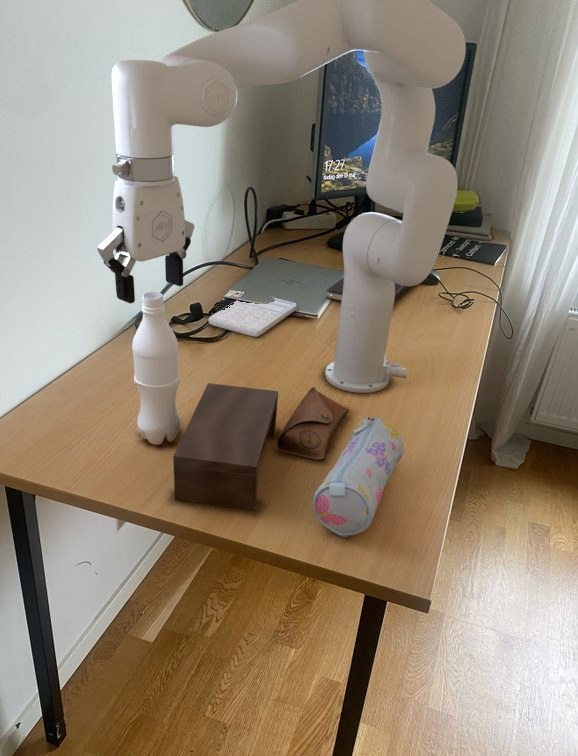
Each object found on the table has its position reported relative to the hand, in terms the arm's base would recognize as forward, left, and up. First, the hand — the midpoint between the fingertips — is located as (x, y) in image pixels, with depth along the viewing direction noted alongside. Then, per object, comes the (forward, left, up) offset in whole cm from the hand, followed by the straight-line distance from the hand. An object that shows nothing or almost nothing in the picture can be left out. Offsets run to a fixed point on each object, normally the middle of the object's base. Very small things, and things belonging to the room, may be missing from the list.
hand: (151, 291), depth 97 cm
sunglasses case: (-26, -8, -26) cm, 37 cm away
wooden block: (-13, +5, -26) cm, 29 cm away
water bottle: (0, 0, -26) cm, 26 cm away
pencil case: (-34, +9, -26) cm, 44 cm away
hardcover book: (-34, -78, -26) cm, 89 cm away
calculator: (-7, -54, -26) cm, 60 cm away
